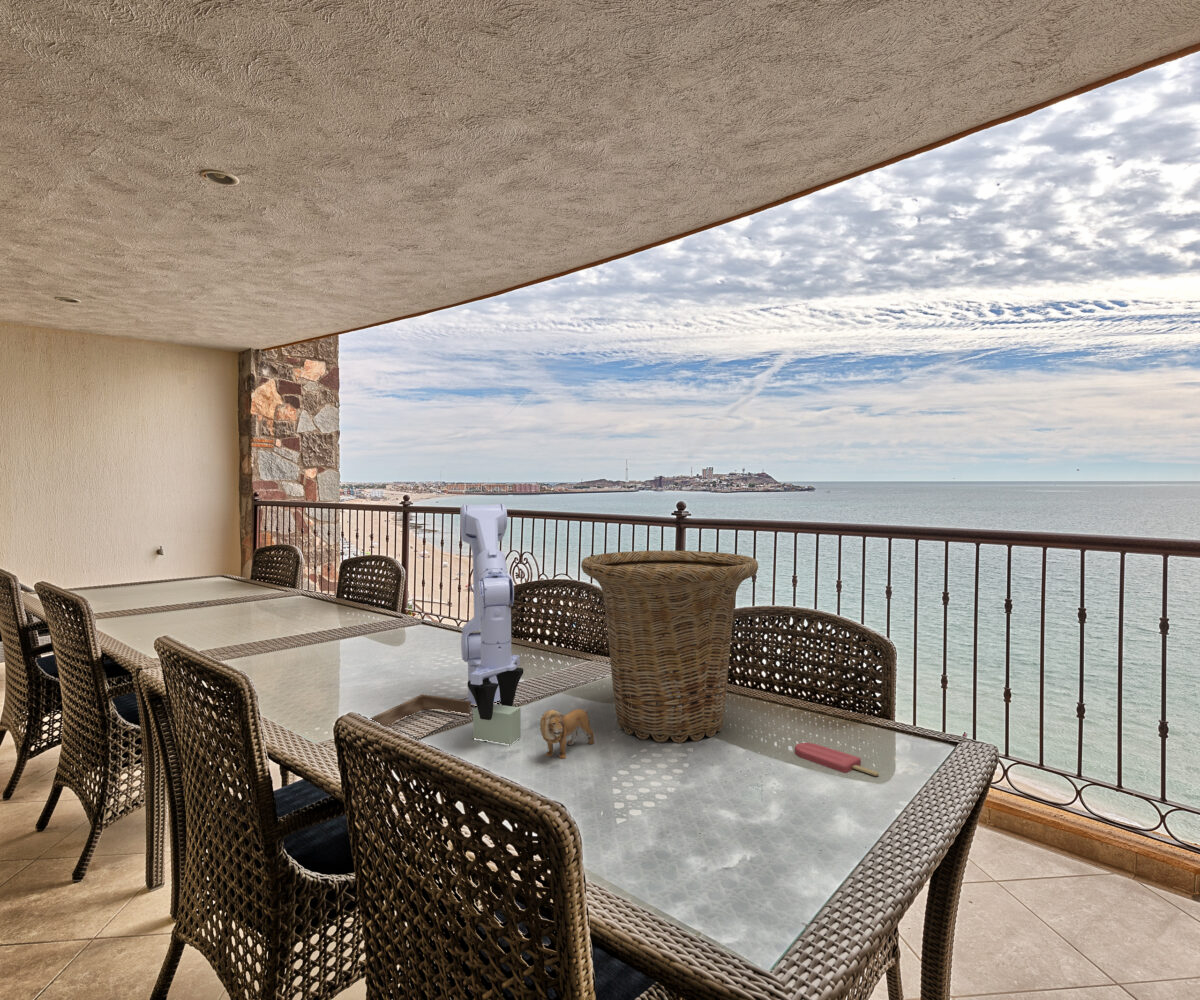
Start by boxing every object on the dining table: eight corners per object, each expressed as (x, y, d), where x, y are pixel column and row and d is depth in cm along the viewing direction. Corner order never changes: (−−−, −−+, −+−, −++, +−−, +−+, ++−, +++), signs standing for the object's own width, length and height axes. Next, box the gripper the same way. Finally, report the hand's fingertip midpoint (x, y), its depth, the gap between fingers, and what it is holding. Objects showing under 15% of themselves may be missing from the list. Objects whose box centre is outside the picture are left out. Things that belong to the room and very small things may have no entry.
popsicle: (870, 774, 106) (788, 747, 118) (870, 784, 106) (788, 756, 118) (885, 765, 110) (805, 739, 121) (885, 774, 110) (805, 748, 121)
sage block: (484, 733, 129) (484, 702, 129) (520, 739, 126) (520, 707, 126) (473, 740, 125) (472, 709, 125) (510, 746, 122) (509, 714, 122)
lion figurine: (558, 769, 112) (558, 716, 112) (532, 763, 115) (532, 711, 114) (600, 739, 125) (600, 692, 125) (576, 734, 128) (575, 688, 127)
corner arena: (422, 708, 144) (421, 694, 144) (471, 715, 139) (471, 701, 139) (370, 733, 129) (370, 718, 129) (423, 742, 124) (423, 726, 124)
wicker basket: (761, 702, 145) (761, 551, 145) (754, 768, 112) (754, 571, 111) (607, 690, 155) (606, 549, 154) (558, 747, 121) (557, 566, 121)
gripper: (494, 651, 117) (494, 728, 117) (532, 634, 130) (533, 703, 131) (460, 648, 120) (461, 723, 120) (501, 631, 133) (502, 699, 133)
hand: (496, 712), depth 125 cm, fingers open, 7 cm apart
